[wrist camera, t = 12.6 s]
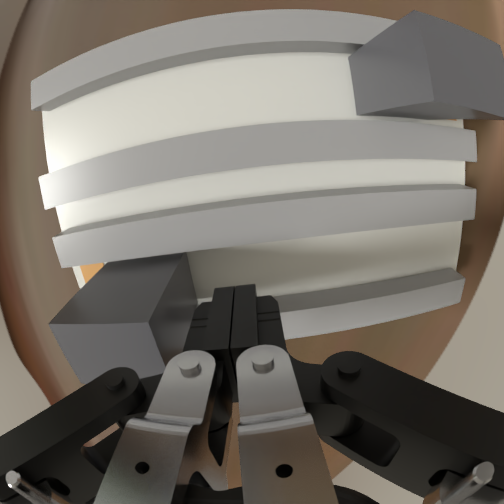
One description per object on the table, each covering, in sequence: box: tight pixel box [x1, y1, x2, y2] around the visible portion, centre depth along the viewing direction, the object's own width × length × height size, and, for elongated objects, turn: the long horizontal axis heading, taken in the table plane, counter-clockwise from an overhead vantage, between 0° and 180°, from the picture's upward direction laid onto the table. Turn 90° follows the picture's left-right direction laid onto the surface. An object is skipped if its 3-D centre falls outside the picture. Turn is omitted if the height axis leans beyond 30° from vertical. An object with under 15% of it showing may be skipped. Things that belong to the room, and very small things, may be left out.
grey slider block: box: [49, 252, 198, 384], centre depth 10 cm, size 3×4×6 cm
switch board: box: [31, 9, 477, 339], centre depth 12 cm, size 16×22×4 cm
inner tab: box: [348, 10, 504, 120], centre depth 7 cm, size 3×4×6 cm
